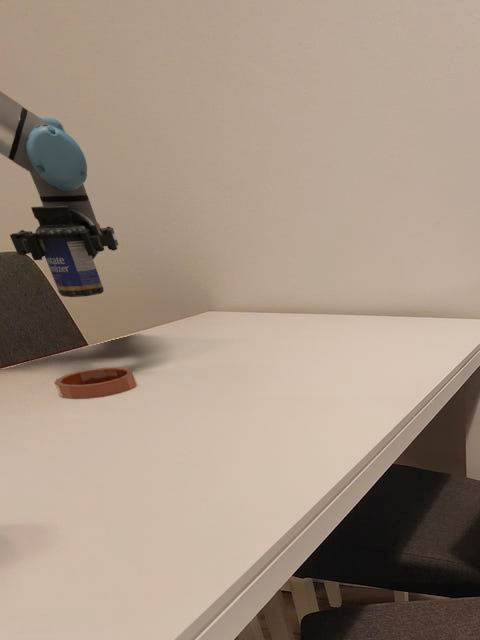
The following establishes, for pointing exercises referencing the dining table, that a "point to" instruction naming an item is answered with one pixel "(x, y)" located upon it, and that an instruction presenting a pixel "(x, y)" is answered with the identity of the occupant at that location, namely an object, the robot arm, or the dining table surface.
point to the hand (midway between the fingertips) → (60, 245)
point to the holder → (96, 383)
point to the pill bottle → (66, 252)
